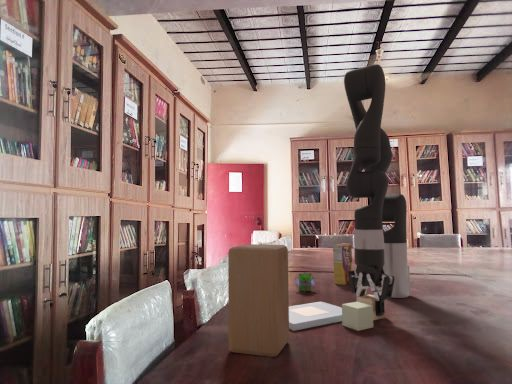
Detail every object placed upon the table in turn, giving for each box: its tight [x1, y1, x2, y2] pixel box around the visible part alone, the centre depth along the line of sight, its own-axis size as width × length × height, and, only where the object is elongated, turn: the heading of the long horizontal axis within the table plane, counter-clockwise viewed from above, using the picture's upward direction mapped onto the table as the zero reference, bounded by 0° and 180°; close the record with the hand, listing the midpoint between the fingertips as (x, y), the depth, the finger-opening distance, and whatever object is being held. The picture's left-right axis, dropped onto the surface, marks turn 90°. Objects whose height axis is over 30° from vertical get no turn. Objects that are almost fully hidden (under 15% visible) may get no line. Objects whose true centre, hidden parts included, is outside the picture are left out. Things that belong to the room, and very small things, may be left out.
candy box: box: [332, 242, 354, 286], centre depth 143 cm, size 9×4×15 cm, turn 141°
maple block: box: [356, 294, 387, 321], centre depth 94 cm, size 5×5×5 cm
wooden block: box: [227, 243, 290, 358], centre depth 73 cm, size 10×10×20 cm
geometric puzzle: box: [294, 271, 316, 293], centre depth 127 cm, size 7×7×8 cm
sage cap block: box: [341, 301, 374, 332], centre depth 86 cm, size 5×5×5 cm
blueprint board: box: [289, 301, 342, 332], centre depth 93 cm, size 20×14×2 cm
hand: (370, 312), depth 93 cm, fingers closed on maple block, 5 cm apart
